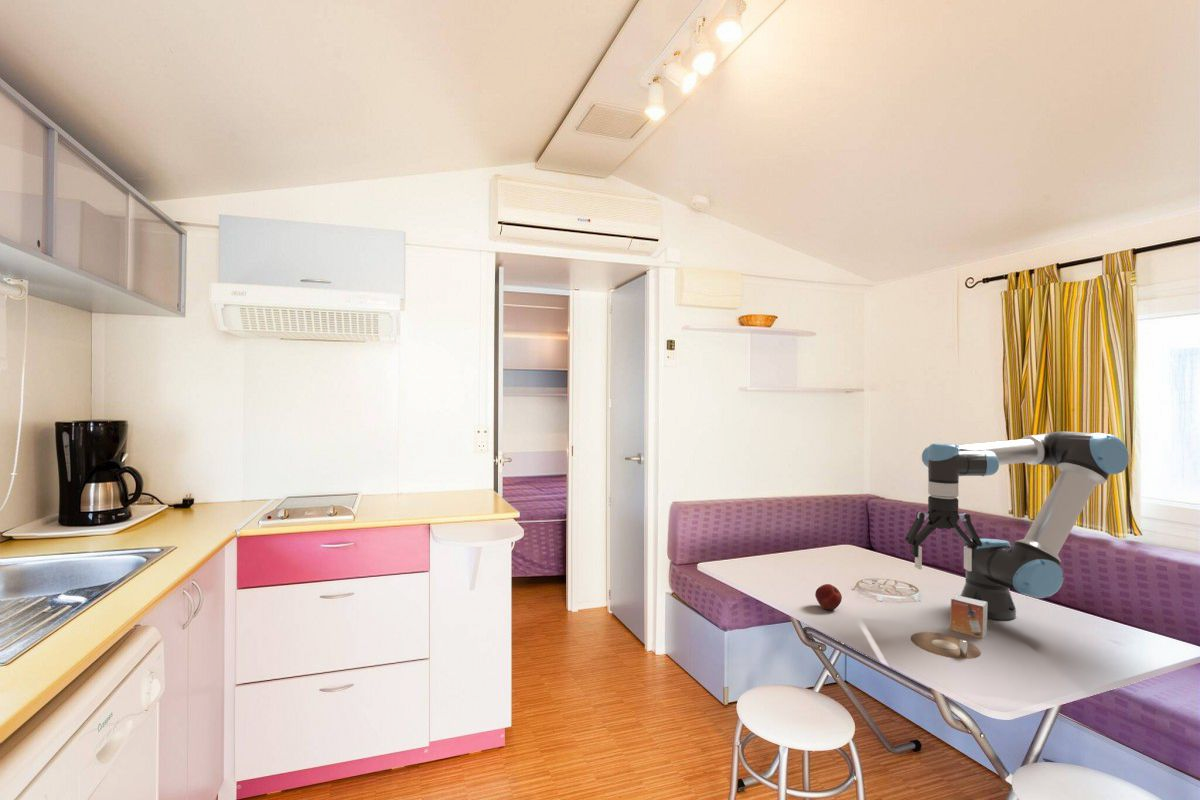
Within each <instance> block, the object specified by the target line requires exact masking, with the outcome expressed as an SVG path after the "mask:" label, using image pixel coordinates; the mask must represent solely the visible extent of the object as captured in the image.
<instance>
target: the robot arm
mask: <svg viewBox="0 0 1200 800" xmlns="http://www.w3.org/2000/svg"><path fill="white" fill-rule="evenodd" d="M1129 455H1130V454H1129V452H1128V449H1127V446H1126V444H1125V443H1124V442H1123V440H1122V439H1121V438H1119V437H1117V436H1116V435H1113V434H1110V433H1102V432H1081V431H1080V432H1079V431H1066V430H1064V431H1060V430H1059V431H1051V432H1047V433H1040V434H1039V433H1038V434H1031V435H1025V436H1023V437H1022V438H1021V437H1020V439H1010V440H1001V441H989V442H988V441H987V442H977V443H976V442H975V443H967V444H966V443H965V444H955V443H943V442H942V443H938V442H936V443H931V444H930V445H929V446H927V447H925V448H924V449H923V451H922V453H921V461H922V463H923V465H924V466H926V467H927V468H928V469H927V471H928V472H927V473H928V474H927V475H928V476H927V477H928V481H927V482H928V483H927V484H928V485H927V487H928V488H927V492H928V493H927V494H928V497H927V508H928V510H927V512H921V511H917V512H916V514H915V515H916V516H915V519H914V522H913V524H912V525H911V526H910V529H909V531H908V533H907V535H906V536H905V538H904V542H906V543H907V544H909V545H911V555H912V556H913V557H914V567H915V568H916V569H917V570H922V569H923V567H922V563H923V547H922V546H921V544H922V543H923V542H924V541H925V540H926V539H927V538H928V537H929V535H930V534H931V533H932V532H933V531H935V530H936V529H939V530H940V529H941V530H943V529H945V530H951V529H952V530H953V531H954V532H955V534H956V535H957V536H958V537H959V539H961V540H962V541H963V542H964V544H965V545H966V546H965V545H964V546H963V569H964V570H965V583H964V586H963V589H962V591H961V593H960V595H959V596H963V597H967V598H971V599H976V600H980V601H986V602H988V606H987V619H991V620H992V619H993V620H999V621H1000V620H1002V621H1003V620H1007V621H1010V620H1013V619H1016V617H1017V608H1016V605H1015V602H1014V600H1013V596H1012V594H1011V592H1010V591H1011V590H1013V591H1015V592H1018V593H1019V594H1022V595H1024V596H1029V597H1032V598H1035V599H1044V598H1048V597H1051V596H1054V595H1055V594H1056V593H1057V592H1058V591H1059V590H1060V589H1061V587H1062V585H1063V583H1064V577H1063V575H1064V572H1063V569H1062V567H1061V566H1060V565H1061V563H1062V560H1061V558H1060V556H1059V553H1060V552H1061V550H1062V548H1063V546H1064V544H1065V543H1066V540H1067V539H1068V537H1069V535H1070V533H1071V531H1072V529H1073V528H1074V525H1075V524H1076V522H1077V520H1078V518H1079V517H1080V515H1081V513H1082V511H1083V509H1084V507H1085V506H1086V504H1087V502H1088V500H1089V499H1090V497H1091V495H1092V493H1093V491H1094V489H1095V488H1096V486H1098V485H1104V484H1105V483H1106V482H1107V480H1108V478H1109V476H1110V475H1112V476H1113V475H1117V474H1121V473H1123V472H1124V471H1125V470H1126V468H1127V466H1128V464H1129V460H1130V457H1129ZM1023 463H1024V464H1027V465H1031V466H1034V465H1035V466H1036V465H1037V466H1038V465H1039V466H1040V465H1043V466H1051V467H1056V468H1058V469H1059V471H1060V473H1059V475H1058V477H1057V478H1056V480H1055V482H1054V484H1053V486H1052V488H1051V489H1050V491H1049V493H1048V495H1047V496H1046V498H1045V500H1044V502H1043V504H1042V505H1041V507H1040V509H1039V511H1038V513H1037V515H1036V516H1035V518H1034V520H1033V522H1032V524H1031V526H1030V527H1029V529H1028V531H1027V532H1026V534H1025V536H1024V538H1023V539H1019V540H1018V539H1017V540H1015V541H1014V543H1013V545H1012V546H1011V542H1010V541H1008V540H1004V539H997V538H995V539H994V538H980V537H979V535H978V533H977V531H976V529H975V527H974V525H973V523H972V522H971V515H970V514H968V513H966V512H962V513H959V499H958V497H959V477H966V476H967V477H972V476H974V477H985V476H986V477H987V476H993V475H995V474H996V473H997V472H998V470H999V468H1000V466H1003V465H1011V464H1012V465H1015V464H1023ZM927 519H928V521H927V522H926V524H925V525H924V523H925V521H926V520H927ZM958 521H961V522H962V524H963V526H964V528H965V529H966V532H967V534H968V535H967V534H966V533H965V532H964V531H963V529H962V528H961V526H959V524H958ZM923 525H924V527H923V528H922V526H923ZM921 528H922V529H921ZM969 537H970V538H969Z"/></svg>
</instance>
